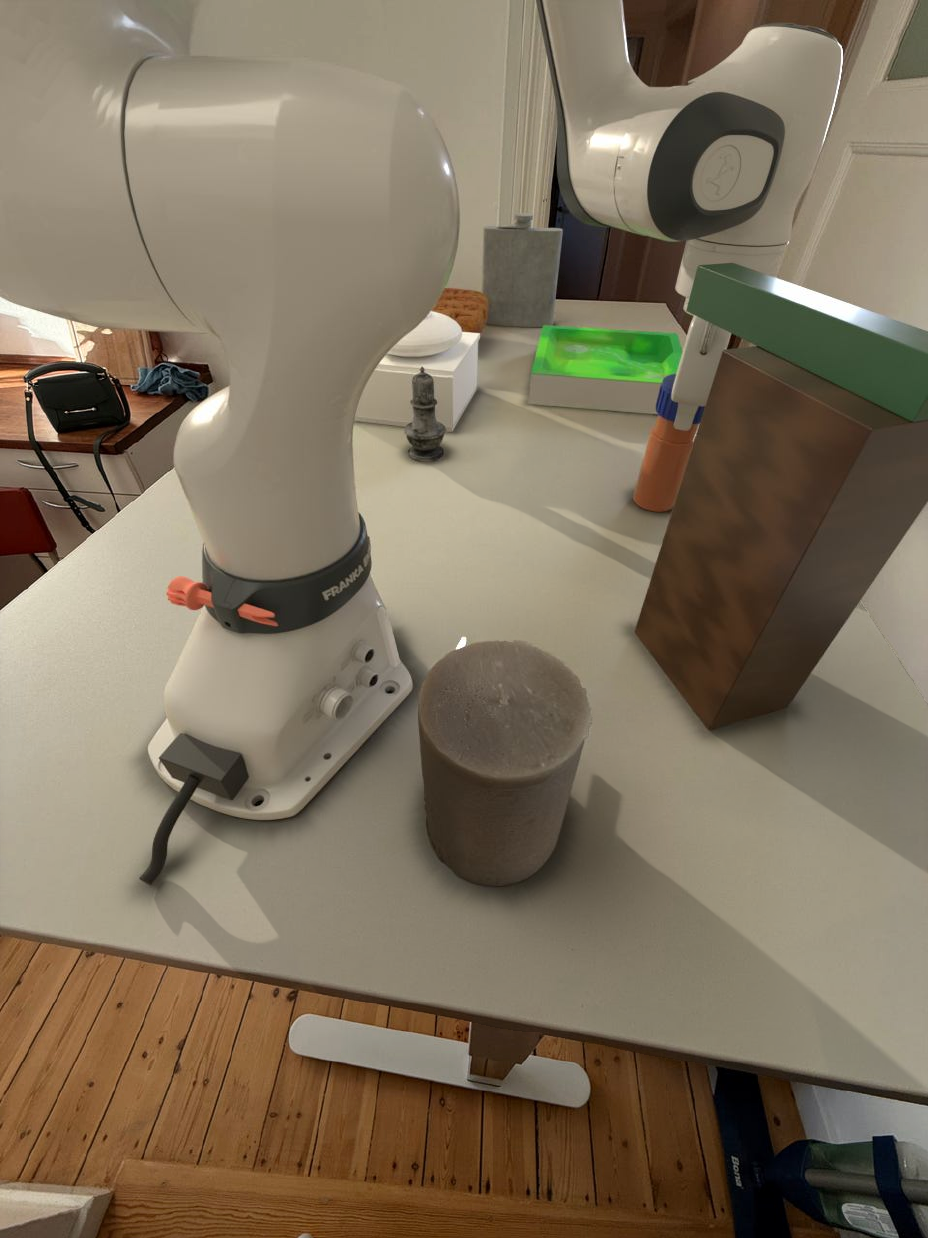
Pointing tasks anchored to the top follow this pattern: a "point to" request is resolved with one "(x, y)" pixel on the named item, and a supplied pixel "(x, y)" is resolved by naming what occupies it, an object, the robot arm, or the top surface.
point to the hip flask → (520, 272)
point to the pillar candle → (499, 757)
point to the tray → (602, 368)
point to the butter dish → (441, 357)
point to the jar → (663, 466)
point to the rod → (819, 335)
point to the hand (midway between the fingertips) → (685, 414)
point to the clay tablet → (464, 308)
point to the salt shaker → (424, 421)
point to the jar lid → (672, 402)
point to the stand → (776, 533)
